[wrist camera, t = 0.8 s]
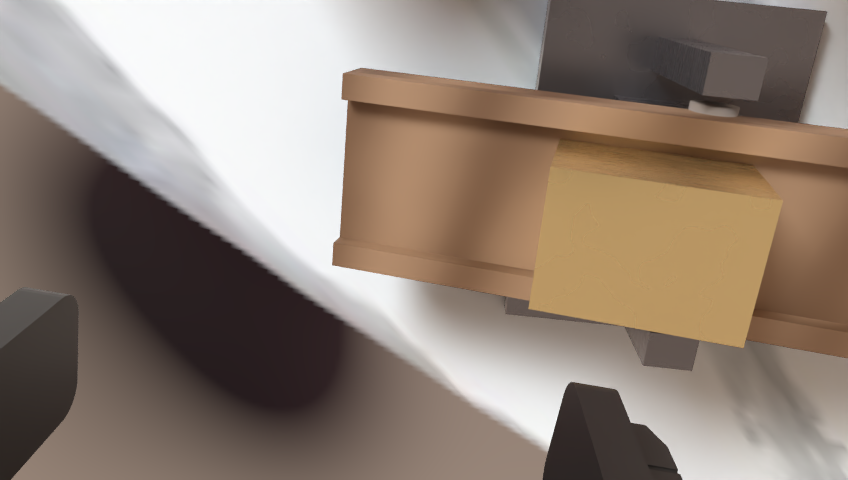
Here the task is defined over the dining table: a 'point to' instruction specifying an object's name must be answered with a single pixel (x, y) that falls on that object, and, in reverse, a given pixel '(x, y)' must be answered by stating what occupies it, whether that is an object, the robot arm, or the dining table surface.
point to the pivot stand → (677, 79)
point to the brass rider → (654, 241)
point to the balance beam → (528, 179)
